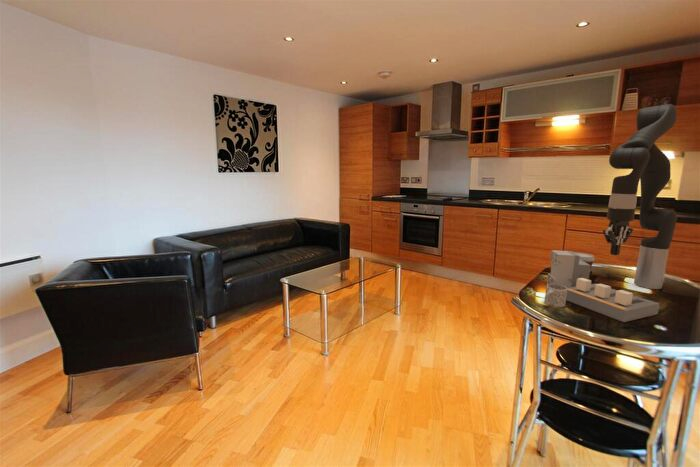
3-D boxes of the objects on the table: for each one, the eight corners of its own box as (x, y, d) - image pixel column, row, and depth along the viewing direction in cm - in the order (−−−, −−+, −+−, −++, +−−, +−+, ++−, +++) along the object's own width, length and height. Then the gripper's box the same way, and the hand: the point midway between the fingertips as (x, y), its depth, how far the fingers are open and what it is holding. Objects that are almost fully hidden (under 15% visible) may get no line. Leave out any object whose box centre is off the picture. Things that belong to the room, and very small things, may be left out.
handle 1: (581, 287, 133) (582, 277, 133) (590, 290, 130) (591, 280, 129) (575, 288, 132) (577, 278, 132) (584, 291, 129) (586, 281, 128)
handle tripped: (599, 293, 127) (601, 283, 126) (609, 297, 124) (611, 286, 123) (593, 294, 126) (595, 284, 125) (603, 298, 123) (605, 287, 122)
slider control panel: (593, 292, 140) (595, 283, 140) (657, 314, 120) (659, 303, 120) (562, 298, 134) (563, 288, 133) (623, 322, 114) (625, 310, 113)
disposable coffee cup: (594, 285, 150) (598, 258, 147) (569, 282, 153) (572, 256, 150) (587, 278, 159) (590, 253, 156) (563, 276, 161) (566, 251, 159)
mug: (550, 299, 133) (552, 282, 132) (568, 305, 128) (571, 288, 127) (535, 304, 128) (537, 287, 127) (553, 310, 123) (556, 293, 122)
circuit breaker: (591, 292, 141) (596, 256, 138) (553, 289, 144) (557, 254, 141) (583, 286, 149) (588, 252, 146) (546, 283, 151) (551, 250, 148)
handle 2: (620, 300, 121) (621, 289, 120) (631, 304, 117) (633, 293, 117) (614, 301, 120) (616, 290, 119) (625, 305, 116) (627, 294, 116)
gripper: (622, 204, 127) (615, 250, 130) (598, 206, 122) (591, 254, 125) (645, 206, 120) (637, 255, 123) (621, 208, 115) (613, 259, 118)
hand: (614, 254), depth 124 cm, fingers closed
